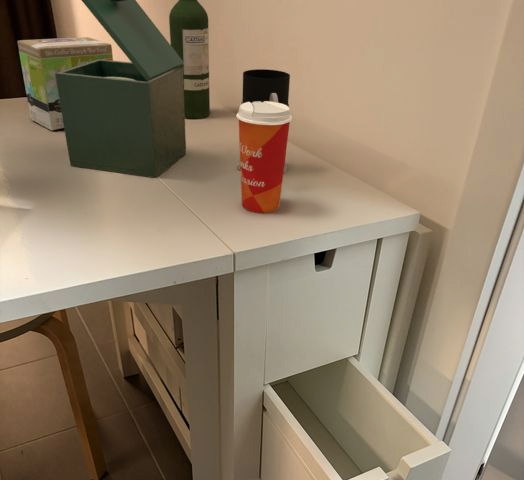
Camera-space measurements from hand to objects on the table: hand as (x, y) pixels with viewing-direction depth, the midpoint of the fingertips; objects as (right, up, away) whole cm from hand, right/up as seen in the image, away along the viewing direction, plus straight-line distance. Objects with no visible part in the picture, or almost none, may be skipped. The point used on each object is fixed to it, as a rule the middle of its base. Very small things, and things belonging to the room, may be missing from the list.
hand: (119, 0), depth 83 cm
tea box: (-17, -5, +32) cm, 37 cm away
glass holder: (+22, -22, +12) cm, 34 cm away
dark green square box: (-2, -19, +14) cm, 24 cm away
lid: (+1, -3, +2) cm, 4 cm away
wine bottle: (+6, 0, +40) cm, 41 cm away
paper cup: (+21, -31, 0) cm, 38 cm away
